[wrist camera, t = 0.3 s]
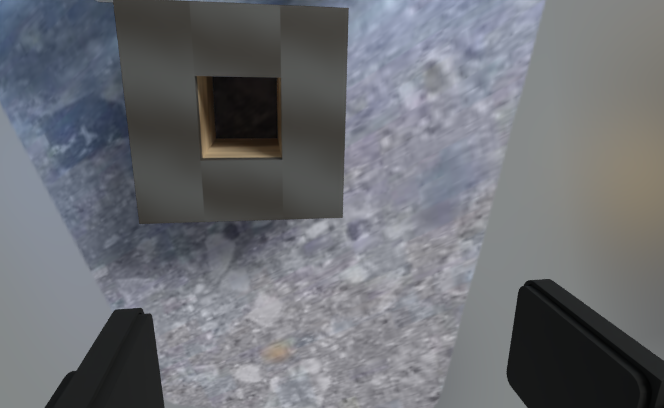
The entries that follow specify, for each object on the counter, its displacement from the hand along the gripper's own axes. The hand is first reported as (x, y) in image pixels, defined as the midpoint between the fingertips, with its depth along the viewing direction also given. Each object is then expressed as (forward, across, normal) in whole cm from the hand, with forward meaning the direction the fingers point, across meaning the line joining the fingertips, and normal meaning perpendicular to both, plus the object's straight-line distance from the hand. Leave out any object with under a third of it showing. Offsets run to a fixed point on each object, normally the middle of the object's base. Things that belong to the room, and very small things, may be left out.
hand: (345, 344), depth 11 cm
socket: (+30, +3, -4) cm, 30 cm away
